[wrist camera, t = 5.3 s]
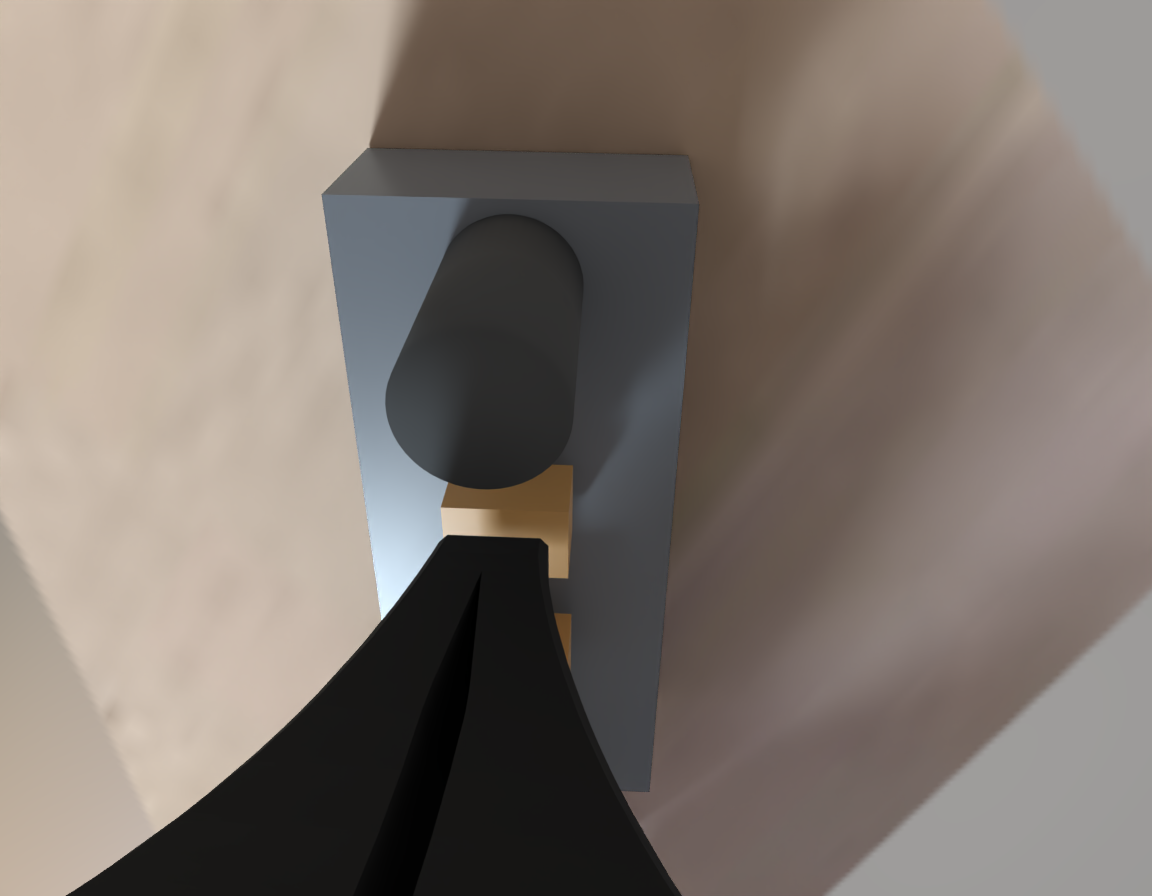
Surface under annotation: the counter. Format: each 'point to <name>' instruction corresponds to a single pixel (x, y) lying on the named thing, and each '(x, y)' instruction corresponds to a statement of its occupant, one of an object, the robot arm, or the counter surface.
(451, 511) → the tan wooden dumbbell piece
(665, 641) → the counter surface
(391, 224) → the grey base plate
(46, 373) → the counter surface
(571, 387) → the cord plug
